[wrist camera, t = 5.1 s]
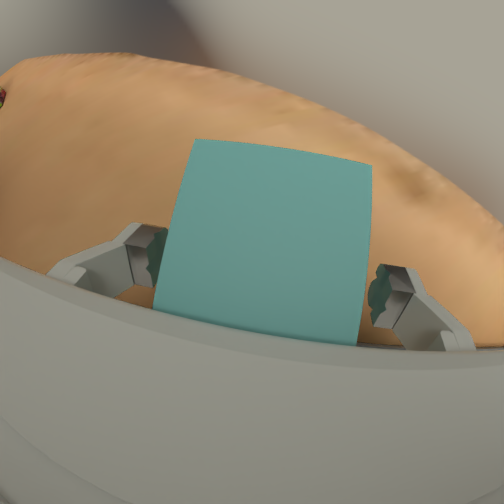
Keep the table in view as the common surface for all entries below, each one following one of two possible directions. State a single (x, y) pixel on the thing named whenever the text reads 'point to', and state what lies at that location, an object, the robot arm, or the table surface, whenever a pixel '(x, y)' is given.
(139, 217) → the table surface
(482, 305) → the table surface
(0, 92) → the snack box
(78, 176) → the table surface
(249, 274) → the teal post
